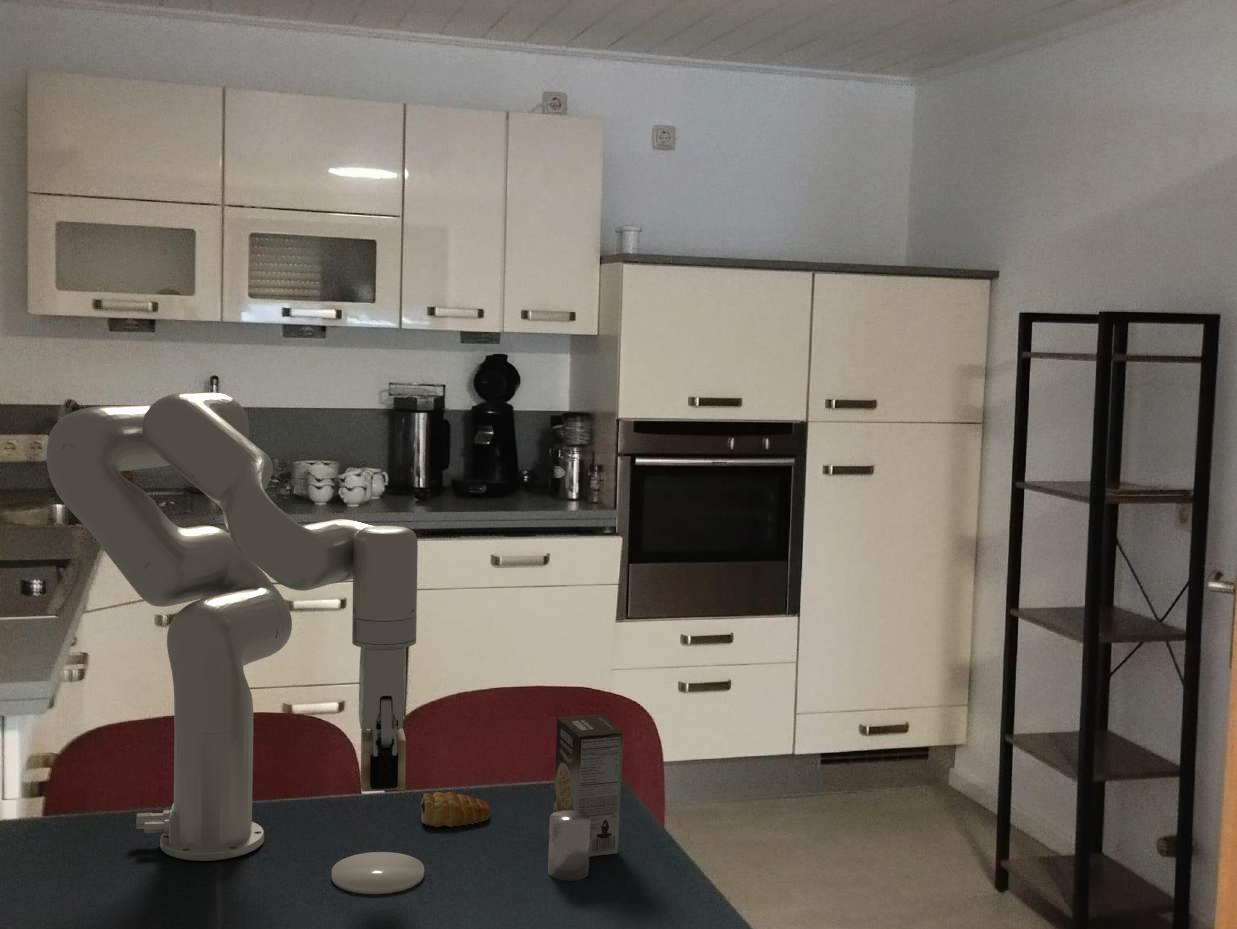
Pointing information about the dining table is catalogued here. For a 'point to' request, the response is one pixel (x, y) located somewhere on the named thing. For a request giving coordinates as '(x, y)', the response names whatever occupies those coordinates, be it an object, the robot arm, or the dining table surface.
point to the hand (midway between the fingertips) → (382, 778)
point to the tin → (569, 845)
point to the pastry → (452, 809)
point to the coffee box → (590, 776)
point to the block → (368, 750)
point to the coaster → (377, 873)
